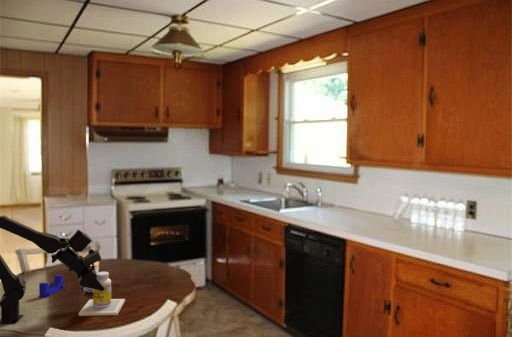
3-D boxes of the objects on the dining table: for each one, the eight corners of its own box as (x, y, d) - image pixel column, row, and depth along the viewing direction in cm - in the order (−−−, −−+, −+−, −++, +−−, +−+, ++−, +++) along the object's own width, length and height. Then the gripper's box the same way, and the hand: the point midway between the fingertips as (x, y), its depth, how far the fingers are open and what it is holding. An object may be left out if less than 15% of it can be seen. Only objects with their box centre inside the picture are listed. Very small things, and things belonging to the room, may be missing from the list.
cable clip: (53, 287, 191) (53, 274, 190) (63, 288, 190) (63, 275, 190) (36, 297, 179) (36, 283, 178) (46, 298, 178) (45, 284, 178)
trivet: (116, 315, 162) (116, 312, 162) (78, 315, 161) (78, 312, 161) (124, 301, 176) (124, 298, 176) (89, 301, 175) (89, 299, 174)
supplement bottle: (89, 307, 166) (89, 274, 165) (100, 301, 172) (100, 270, 171) (104, 309, 164) (103, 276, 163) (114, 303, 170) (114, 271, 169)
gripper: (89, 250, 156) (121, 277, 161) (87, 239, 173) (115, 264, 178) (65, 274, 153) (98, 300, 158) (65, 260, 170) (95, 284, 175)
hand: (102, 286), depth 168 cm, fingers open, 9 cm apart
